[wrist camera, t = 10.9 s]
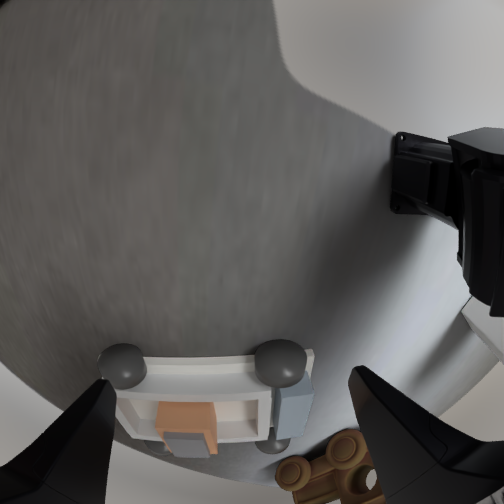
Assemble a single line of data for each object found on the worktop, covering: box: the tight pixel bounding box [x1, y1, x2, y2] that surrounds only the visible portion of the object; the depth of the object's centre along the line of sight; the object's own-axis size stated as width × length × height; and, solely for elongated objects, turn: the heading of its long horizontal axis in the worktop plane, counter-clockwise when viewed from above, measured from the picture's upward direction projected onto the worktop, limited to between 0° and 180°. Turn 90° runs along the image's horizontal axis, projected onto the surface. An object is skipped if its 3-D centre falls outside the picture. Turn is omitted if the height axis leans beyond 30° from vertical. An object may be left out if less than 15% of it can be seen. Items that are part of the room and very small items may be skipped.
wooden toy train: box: [275, 429, 386, 504], centre depth 28 cm, size 20×11×17 cm, turn 135°
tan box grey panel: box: [155, 401, 218, 458], centre depth 22 cm, size 5×6×6 cm
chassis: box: [97, 340, 315, 456], centre depth 24 cm, size 21×16×4 cm
